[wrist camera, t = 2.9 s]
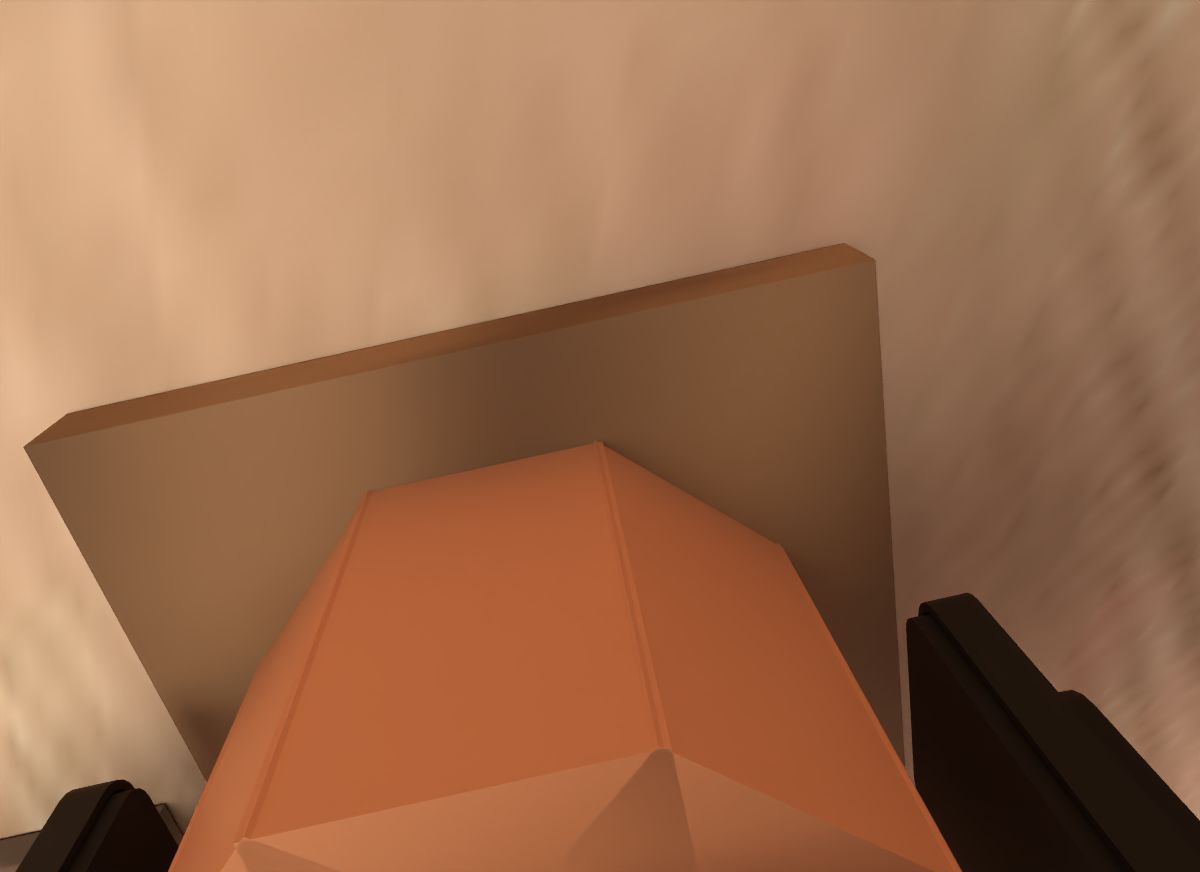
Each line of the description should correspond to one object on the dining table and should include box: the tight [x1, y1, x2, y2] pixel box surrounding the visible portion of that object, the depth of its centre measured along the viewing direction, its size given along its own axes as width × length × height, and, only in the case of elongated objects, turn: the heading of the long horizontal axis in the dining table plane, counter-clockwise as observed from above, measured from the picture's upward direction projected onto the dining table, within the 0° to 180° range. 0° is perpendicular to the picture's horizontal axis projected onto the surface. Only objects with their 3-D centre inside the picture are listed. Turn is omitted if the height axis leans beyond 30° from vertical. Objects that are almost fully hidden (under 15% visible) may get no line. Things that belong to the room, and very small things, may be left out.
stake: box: [24, 243, 905, 782], centre depth 9 cm, size 10×10×7 cm
